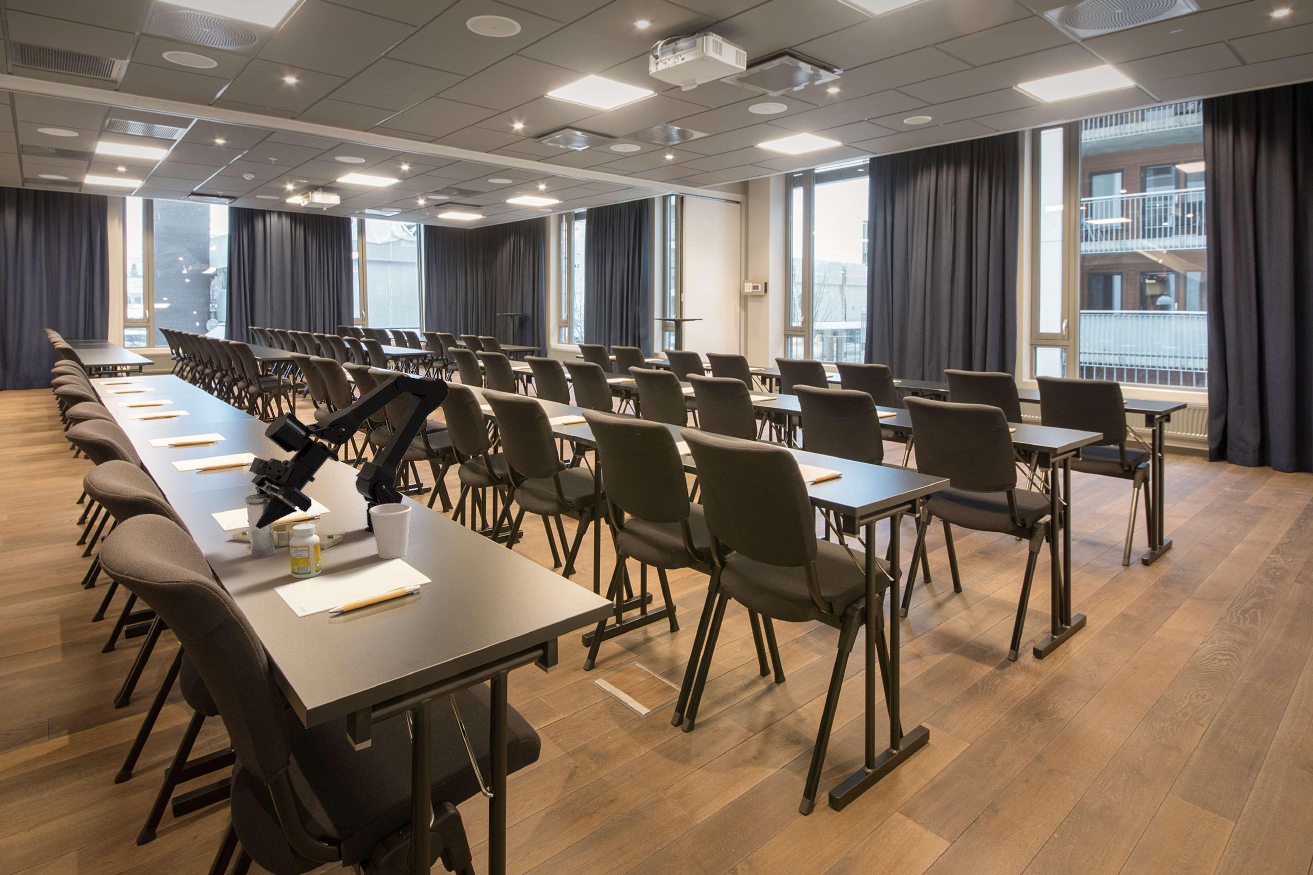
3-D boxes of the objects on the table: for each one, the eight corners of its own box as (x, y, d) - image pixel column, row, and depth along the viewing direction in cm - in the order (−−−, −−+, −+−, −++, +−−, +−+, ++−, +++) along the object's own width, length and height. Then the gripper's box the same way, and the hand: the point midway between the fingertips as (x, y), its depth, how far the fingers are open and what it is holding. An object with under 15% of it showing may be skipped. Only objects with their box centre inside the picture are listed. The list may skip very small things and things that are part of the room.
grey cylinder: (281, 551, 163) (276, 494, 161) (264, 559, 158) (259, 500, 156) (262, 550, 164) (257, 493, 162) (244, 556, 160) (239, 498, 158)
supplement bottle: (299, 580, 146) (295, 532, 145) (286, 574, 150) (282, 526, 148) (327, 573, 150) (323, 526, 149) (313, 567, 154) (310, 520, 152)
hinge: (346, 539, 172) (345, 526, 171) (321, 550, 164) (320, 537, 163) (256, 531, 178) (255, 518, 177) (229, 541, 170) (227, 528, 170)
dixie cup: (402, 545, 168) (399, 501, 166) (420, 554, 162) (418, 508, 160) (364, 554, 162) (361, 508, 160) (382, 563, 156) (380, 515, 154)
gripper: (257, 437, 167) (206, 495, 161) (291, 448, 154) (236, 512, 148) (298, 467, 174) (249, 524, 168) (333, 480, 161) (282, 542, 155)
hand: (253, 525), depth 159 cm, fingers closed on grey cylinder, 4 cm apart
